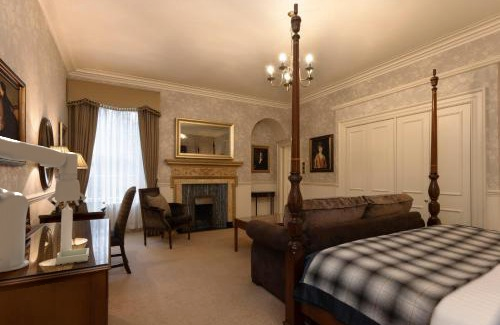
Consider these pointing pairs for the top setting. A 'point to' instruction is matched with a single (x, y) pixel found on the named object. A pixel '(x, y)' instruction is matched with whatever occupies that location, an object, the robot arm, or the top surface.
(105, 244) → the top surface
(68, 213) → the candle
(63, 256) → the tray
